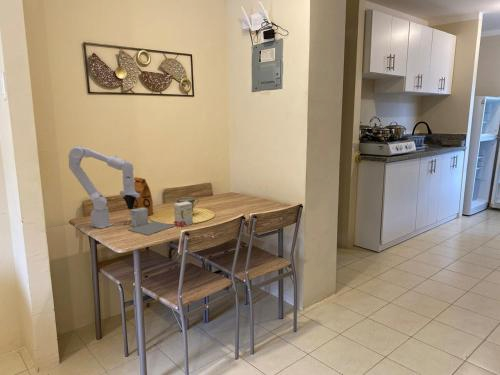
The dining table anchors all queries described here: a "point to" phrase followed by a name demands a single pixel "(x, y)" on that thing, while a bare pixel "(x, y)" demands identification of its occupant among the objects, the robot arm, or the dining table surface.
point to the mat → (151, 228)
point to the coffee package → (143, 195)
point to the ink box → (183, 214)
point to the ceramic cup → (188, 199)
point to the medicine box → (139, 217)
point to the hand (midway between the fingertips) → (130, 208)
